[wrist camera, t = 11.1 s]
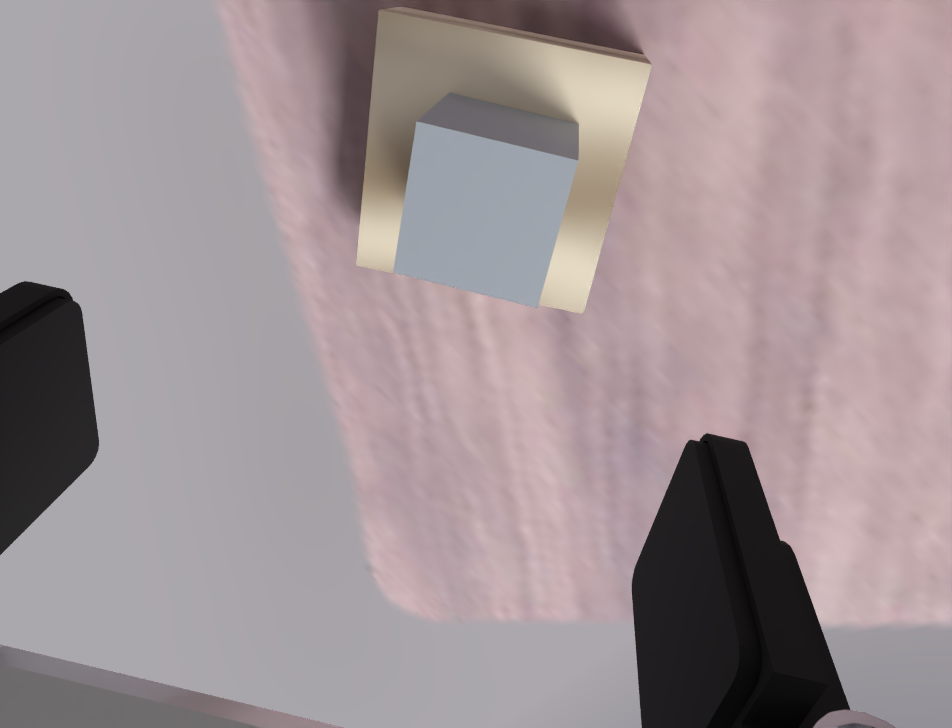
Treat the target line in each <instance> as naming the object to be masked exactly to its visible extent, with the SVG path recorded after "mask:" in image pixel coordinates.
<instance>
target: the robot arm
mask: <svg viewBox="0 0 952 728" xmlns="http://www.w3.org/2000/svg"><path fill="white" fill-rule="evenodd" d="M98 447H99V438H98V430H97V423H96V415H95V407H94V400H93V393H92V385H91V377H90V369H89V362H88V355H87V347H86V339H85V331H84V324H83V318H82V311H81V308H80V306H79V304H78V303H76V302H75V301H73V299H72V297H71V295H70V294H69V292H67V291H66V290H64V289H60V288H56V287H50V286H46V285H42V284H38V283H33V282H25V281H24V282H21V283H18V284H16V285H14V286H13V287H11V288H9V289H7V290H5V291H3V292H2V293H0V555H1V554H2V553H3V552H4V551H5V550H6V549H7V548H8V547H9V546H10V544H12V543H13V542H14V540H16V539H17V538H18V537H19V536H20V535H21V534H22V533H23V532H24V531H25V530H26V529H27V528H28V527H29V526H30V525H31V524H32V523H33V522H34V521H35V520H36V519H37V518H38V517H39V516H40V515H41V514H42V513H43V512H44V511H45V510H46V509H47V508H48V507H49V506H50V505H51V504H52V503H53V502H54V501H55V500H56V499H57V498H58V497H59V496H60V495H61V494H62V493H63V492H64V491H65V490H66V489H67V488H68V487H69V486H70V485H71V484H72V483H73V482H74V481H75V480H76V479H77V478H78V477H79V476H80V475H81V474H82V473H83V472H84V471H85V470H86V469H87V468H88V467H89V466H90V464H91V463H92V462H93V461H94V458H95V457H96V454H97V452H98ZM632 600H633V613H634V627H635V640H636V653H637V667H638V681H639V694H640V708H641V720H642V721H641V722H642V728H896V727H894V726H893V725H891V724H890V723H888V722H886V721H884V720H882V719H879V718H877V717H875V716H872V715H870V714H867V713H864V712H858V711H852V710H850V708H849V705H848V702H847V699H846V696H845V694H844V691H843V688H842V685H841V682H840V680H839V677H838V674H837V671H836V668H835V666H834V663H833V660H832V657H831V654H830V652H829V649H828V646H827V643H826V640H825V638H824V635H823V632H822V629H821V626H820V624H819V621H818V618H817V615H816V612H815V610H814V607H813V604H812V601H811V598H810V596H809V593H808V590H807V587H806V584H805V582H804V579H803V576H802V573H801V570H800V568H799V565H798V562H797V559H796V556H795V554H794V552H793V550H792V548H791V546H790V545H788V544H787V543H786V542H784V541H780V539H779V536H778V533H777V530H776V527H775V524H774V521H773V518H772V516H771V513H770V510H769V507H768V504H767V501H766V498H765V495H764V492H763V489H762V486H761V483H760V480H759V477H758V474H757V471H756V468H755V465H754V462H753V460H752V457H751V454H750V451H749V448H748V446H747V444H746V443H745V442H743V441H739V440H734V439H730V438H725V437H721V436H717V435H712V434H708V433H707V434H705V435H703V437H702V438H701V439H700V441H694V440H689V441H688V443H687V444H686V446H685V448H684V450H683V453H682V455H681V457H680V460H679V462H678V465H677V467H676V469H675V472H674V474H673V477H672V479H671V482H670V484H669V486H668V489H667V491H666V494H665V496H664V498H663V501H662V503H661V506H660V508H659V511H658V513H657V515H656V518H655V520H654V523H653V525H652V527H651V530H650V532H649V535H648V537H647V539H646V542H645V544H644V547H643V549H642V552H641V554H640V556H639V559H638V561H637V564H636V566H635V569H634V574H633V579H632ZM0 728H343V727H339V726H334V725H330V724H326V723H322V722H318V721H314V720H310V719H306V718H302V717H298V716H294V715H290V714H286V713H282V712H278V711H273V710H269V709H265V708H261V707H257V706H253V705H249V704H245V703H241V702H236V701H232V700H228V699H224V698H219V697H216V696H212V695H208V694H203V693H199V692H195V691H191V690H187V689H182V688H179V687H175V686H170V685H166V684H162V683H158V682H154V681H150V680H146V679H141V678H137V677H133V676H128V675H125V674H121V673H116V672H112V671H108V670H104V669H100V668H96V667H91V666H87V665H83V664H79V663H75V662H71V661H66V660H62V659H58V658H54V657H50V656H45V655H41V654H37V653H33V652H29V651H25V650H20V649H16V648H12V647H8V646H3V645H0Z"/></svg>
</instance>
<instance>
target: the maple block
mask: <svg viewBox="0 0 952 728" xmlns="http://www.w3.org/2000/svg"><path fill="white" fill-rule="evenodd" d="M651 66H652V64H651V63H650V61H649V60H648V59H647V57H646V56H645V55H643V54H638V53H633V52H628V51H623V50H618V49H613V48H608V47H603V46H598V45H593V44H588V43H583V42H578V41H573V40H568V39H563V38H558V37H553V36H548V35H543V34H538V33H533V32H528V31H523V30H518V29H513V28H508V27H503V26H498V25H493V24H488V23H483V22H478V21H473V20H468V19H463V18H458V17H453V16H448V15H443V14H438V13H433V12H428V11H423V10H418V9H413V8H408V7H403V6H400V7H394V8H387V9H381V10H379V11H378V22H377V33H376V45H375V56H374V68H373V79H372V91H371V102H370V114H369V125H368V137H367V148H366V160H365V171H364V182H363V194H362V205H361V217H360V228H359V240H358V251H357V263H356V265H357V266H362V267H366V268H371V269H376V270H380V271H385V272H390V273H393V269H394V263H395V256H396V250H397V244H398V237H399V231H400V224H401V218H402V211H403V205H404V199H405V192H406V186H407V179H408V173H409V166H410V160H411V154H412V147H413V141H414V134H415V128H416V122H417V120H419V119H420V118H421V117H422V116H423V115H424V114H425V113H427V112H428V111H429V110H430V109H431V108H432V107H433V106H434V105H436V104H437V103H438V102H439V101H440V100H441V99H442V98H444V97H445V96H446V95H447V94H448V93H454V94H458V95H462V96H466V97H470V98H474V99H478V100H483V101H487V102H491V103H495V104H499V105H503V106H507V107H512V108H516V109H520V110H524V111H528V112H532V113H536V114H540V115H545V116H549V117H553V118H557V119H561V120H565V121H569V122H573V123H577V124H579V161H578V164H577V168H576V172H575V175H574V179H573V182H572V186H571V190H570V193H569V197H568V200H567V204H566V208H565V211H564V215H563V218H562V222H561V225H560V229H559V233H558V236H557V240H556V243H555V247H554V251H553V254H552V258H551V261H550V265H549V269H548V272H547V276H546V279H545V283H544V287H543V290H542V294H541V297H540V301H539V305H543V306H548V307H553V308H557V309H562V310H567V311H571V312H576V313H581V314H583V313H584V310H585V306H586V302H587V299H588V295H589V291H590V288H591V284H592V281H593V277H594V273H595V270H596V266H597V262H598V259H599V255H600V252H601V248H602V244H603V241H604V237H605V233H606V230H607V226H608V222H609V219H610V215H611V212H612V208H613V204H614V201H615V197H616V193H617V190H618V186H619V183H620V179H621V175H622V172H623V168H624V164H625V161H626V157H627V154H628V150H629V146H630V143H631V139H632V135H633V132H634V128H635V125H636V121H637V117H638V114H639V110H640V106H641V103H642V99H643V95H644V92H645V88H646V85H647V81H648V77H649V74H650V70H651ZM394 274H397V273H394ZM399 275H401V274H399ZM404 276H405V275H404ZM408 277H409V276H408Z"/></svg>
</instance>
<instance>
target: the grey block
mask: <svg viewBox="0 0 952 728" xmlns="http://www.w3.org/2000/svg"><path fill="white" fill-rule="evenodd" d="M578 161H579V124H577V123H573V122H569V121H565V120H561V119H557V118H553V117H549V116H545V115H540V114H536V113H532V112H528V111H524V110H520V109H516V108H512V107H507V106H503V105H499V104H495V103H491V102H487V101H483V100H478V99H474V98H470V97H466V96H462V95H458V94H454V93H448V94H447V95H446V96H445V97H444V98H442V99H441V100H440V101H439V102H438V103H437V104H436V105H434V106H433V107H432V108H431V109H430V110H429V111H428V112H427V113H425V114H424V115H423V116H422V117H421V118H420V119H419V120H417V122H416V128H415V134H414V141H413V147H412V154H411V160H410V166H409V173H408V179H407V186H406V192H405V199H404V205H403V211H402V218H401V224H400V231H399V237H398V244H397V250H396V256H395V263H394V269H393V273H397V274H401V275H405V276H409V277H413V278H417V279H421V280H425V281H429V282H434V283H438V284H442V285H446V286H450V287H454V288H458V289H462V290H466V291H470V292H474V293H478V294H482V295H487V296H491V297H495V298H499V299H503V300H507V301H511V302H515V303H519V304H523V305H527V306H531V307H535V308H538V305H539V301H540V297H541V294H542V290H543V287H544V283H545V279H546V276H547V272H548V269H549V265H550V261H551V258H552V254H553V251H554V247H555V243H556V240H557V236H558V233H559V229H560V225H561V222H562V218H563V215H564V211H565V208H566V204H567V200H568V197H569V193H570V190H571V186H572V182H573V179H574V175H575V172H576V168H577V164H578Z"/></svg>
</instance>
